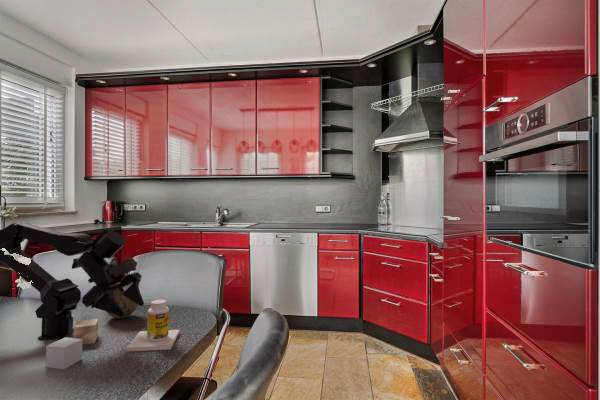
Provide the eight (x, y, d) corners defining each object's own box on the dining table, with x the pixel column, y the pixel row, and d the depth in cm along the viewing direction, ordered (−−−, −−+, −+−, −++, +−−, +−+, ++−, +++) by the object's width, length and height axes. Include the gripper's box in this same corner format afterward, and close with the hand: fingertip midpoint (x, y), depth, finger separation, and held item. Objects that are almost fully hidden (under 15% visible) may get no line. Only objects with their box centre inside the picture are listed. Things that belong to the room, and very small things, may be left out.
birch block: (73, 346, 88) (73, 327, 88) (76, 338, 92) (77, 321, 92) (94, 343, 90) (95, 324, 90) (97, 336, 94) (97, 318, 94)
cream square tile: (126, 351, 85) (126, 347, 85) (140, 334, 96) (140, 331, 96) (170, 349, 87) (170, 345, 87) (179, 333, 98) (179, 329, 98)
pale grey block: (45, 367, 76) (46, 345, 76) (64, 357, 81) (65, 337, 81) (63, 369, 75) (64, 347, 76) (81, 359, 80) (82, 339, 80)
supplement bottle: (153, 343, 87) (154, 305, 88) (142, 338, 91) (143, 301, 91) (172, 337, 92) (173, 301, 92) (161, 332, 95) (162, 297, 95)
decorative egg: (96, 318, 108) (97, 273, 108) (128, 310, 117) (129, 268, 117) (113, 326, 102) (114, 278, 102) (145, 316, 111) (146, 272, 111)
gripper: (94, 255, 84) (133, 300, 82) (137, 246, 102) (169, 283, 101) (64, 284, 84) (103, 329, 83) (112, 270, 103) (144, 307, 102)
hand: (133, 310), depth 92 cm, fingers open, 9 cm apart
